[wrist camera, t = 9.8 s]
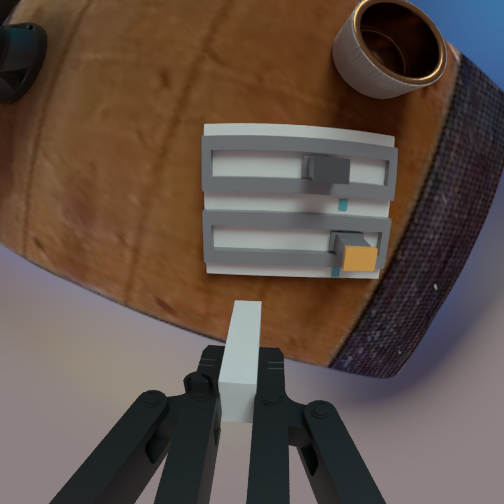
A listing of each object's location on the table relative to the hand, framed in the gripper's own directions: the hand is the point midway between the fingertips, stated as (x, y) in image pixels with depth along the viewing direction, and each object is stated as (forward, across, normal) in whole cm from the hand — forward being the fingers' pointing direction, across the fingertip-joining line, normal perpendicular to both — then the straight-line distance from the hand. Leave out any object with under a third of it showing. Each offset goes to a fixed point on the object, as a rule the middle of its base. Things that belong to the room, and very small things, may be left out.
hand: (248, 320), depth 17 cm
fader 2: (+18, +10, -1) cm, 21 cm away
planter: (+21, +14, +22) cm, 33 cm away
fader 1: (+18, +7, +8) cm, 21 cm away
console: (+20, +5, +4) cm, 21 cm away
